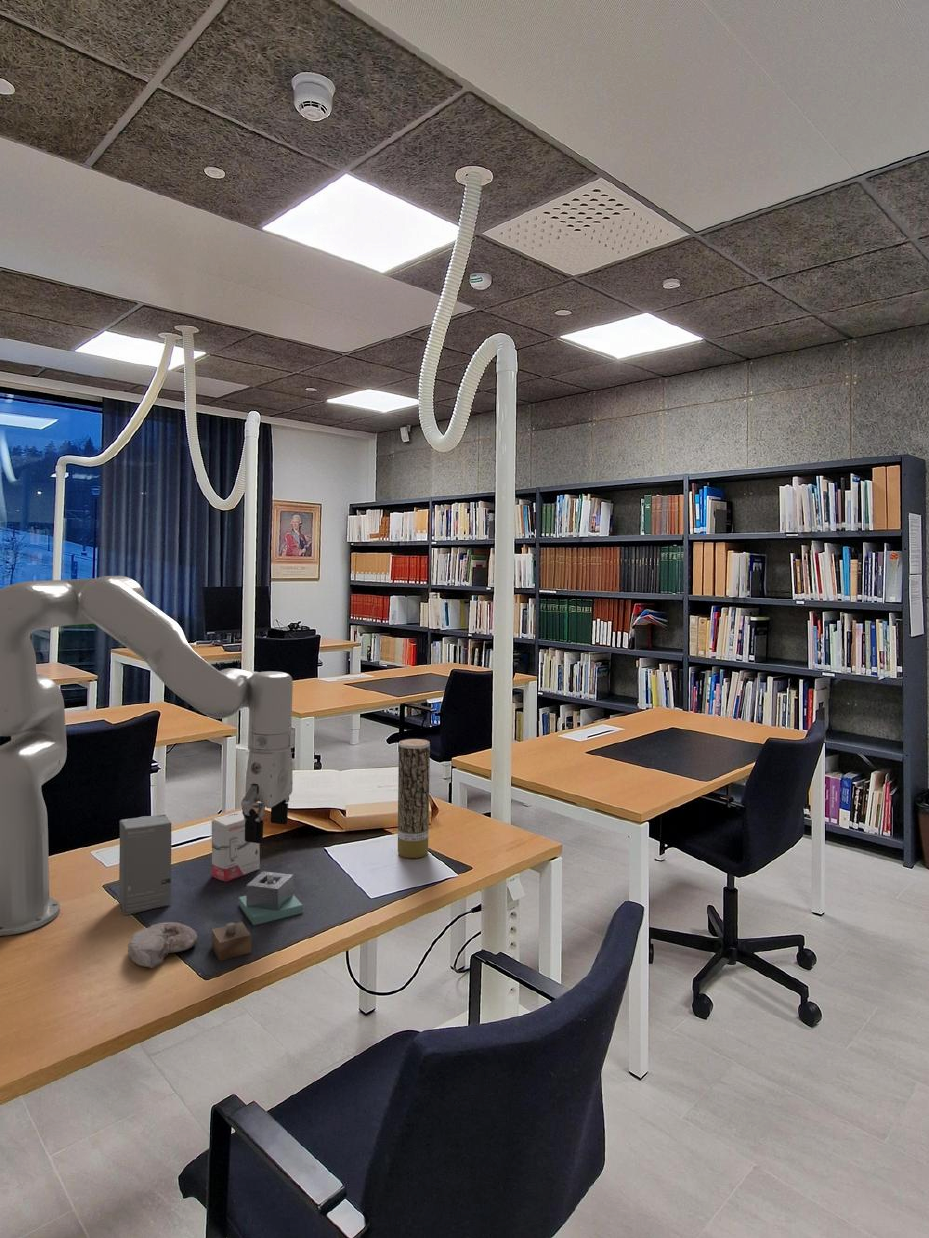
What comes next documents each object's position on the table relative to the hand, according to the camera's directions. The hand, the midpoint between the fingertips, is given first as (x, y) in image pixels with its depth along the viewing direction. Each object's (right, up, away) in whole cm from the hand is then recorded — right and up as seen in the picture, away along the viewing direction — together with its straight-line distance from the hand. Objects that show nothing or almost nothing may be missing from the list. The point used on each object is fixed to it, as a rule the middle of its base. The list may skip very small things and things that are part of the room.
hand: (266, 832), depth 132 cm
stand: (-2, -15, -13) cm, 20 cm away
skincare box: (-23, -14, +2) cm, 27 cm away
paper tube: (+25, -13, +28) cm, 39 cm away
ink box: (-11, -13, +16) cm, 24 cm away
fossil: (-14, -16, -14) cm, 25 cm away
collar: (0, -13, +1) cm, 13 cm away
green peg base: (0, -14, +1) cm, 15 cm away
